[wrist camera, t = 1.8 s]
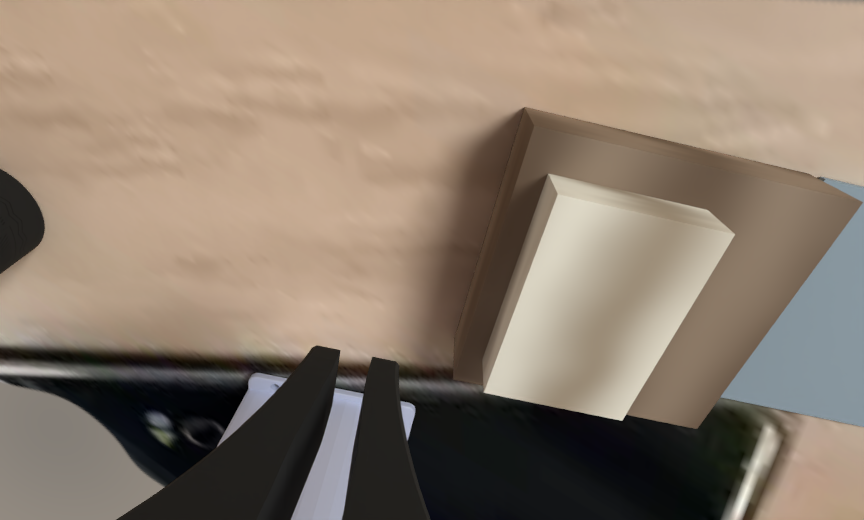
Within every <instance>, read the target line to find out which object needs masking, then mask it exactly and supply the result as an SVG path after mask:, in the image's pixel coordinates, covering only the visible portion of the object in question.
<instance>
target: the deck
mask: <svg viewBox="0 0 864 520" xmlns="http://www.w3.org/2000/svg"><path fill="white" fill-rule="evenodd" d="M548 174H553V175H557V176H561V177H566V178H570V179H575V180H579V181H583V182H588V183H592V184H596V185H601V186H605V187H610V188H614V189H618V190H623V191H627V192H631V193H636V194H640V195H645V196H649V197H653V198H658V199H662V200H667V201H671V202H675V203H680V204H684V205H688V206H693V207H697V208H702V209H706V210H708V211H709V212H711V213H712V214H713V215H714V216H715V217H716V218H717V219H718V220H720V221H721V222H722V223H723V224H724V225H725V226H726V227H727V228H729V229H730V230H731V231H732V232H733V233H734V234H735V236H734V237H733V239H732V241H731V242H730V244H729V246H728V247H727V249H726V251H725V252H724V254H723V256H722V257H721V259H720V260H719V262H718V264H717V265H716V267H715V269H714V270H713V272H712V274H711V275H710V277H709V279H708V280H707V282H706V284H705V285H704V287H703V288H702V290H701V292H700V293H699V295H698V297H697V298H696V300H695V302H694V303H693V305H692V307H691V308H690V310H689V312H688V313H687V315H686V316H685V318H684V320H683V321H682V323H681V325H680V326H679V328H678V330H677V331H676V333H675V335H674V336H673V338H672V339H671V341H670V343H669V344H668V346H667V348H666V349H665V351H664V353H663V354H662V356H661V358H660V359H659V361H658V363H657V364H656V366H655V367H654V369H653V371H652V372H651V374H650V376H649V377H648V379H647V381H646V382H645V384H644V386H643V387H642V389H641V391H640V392H639V394H638V395H637V397H636V399H635V400H634V402H633V404H632V405H631V407H630V409H629V410H628V412H627V414H626V415H631V416H636V417H641V418H646V419H651V420H656V421H660V422H665V423H670V424H675V425H680V426H685V427H690V428H695V429H697V428H698V427H699V425H700V424H701V423H702V421H703V420H704V419H705V417H706V416H707V414H708V413H709V412H710V410H711V409H712V408H713V406H714V405H715V404H716V402H717V401H718V399H719V398H720V397H721V395H722V394H723V393H724V391H725V390H726V389H727V387H728V386H729V385H730V383H731V382H732V380H733V379H734V378H735V376H736V375H737V374H738V372H739V371H740V370H741V368H742V367H743V365H744V364H745V363H746V361H747V360H748V359H749V357H750V356H751V355H752V353H753V352H754V350H755V349H756V348H757V346H758V345H759V344H760V342H761V341H762V340H763V338H764V337H765V335H766V334H767V333H768V331H769V330H770V329H771V327H772V326H773V325H774V323H775V322H776V321H777V319H778V318H779V316H780V315H781V314H782V312H783V311H784V310H785V308H786V307H787V306H788V304H789V303H790V301H791V300H792V299H793V297H794V296H795V295H796V293H797V292H798V291H799V289H800V288H801V286H802V285H803V284H804V282H805V281H806V280H807V278H808V277H809V276H810V274H811V273H812V271H813V270H814V269H815V267H816V266H817V265H818V263H819V262H820V261H821V259H822V258H823V257H824V255H825V254H826V252H827V251H828V250H829V248H830V247H831V246H832V244H833V243H834V242H835V240H836V239H837V237H838V236H839V235H840V233H841V232H842V231H843V229H844V228H845V227H846V225H847V224H848V222H849V221H850V220H851V218H852V217H853V216H854V214H855V213H856V212H857V210H858V209H859V207H860V206H861V205H862V203H863V202H862V201H860V200H858V199H856V198H854V197H852V196H850V195H848V194H846V193H844V192H842V191H841V190H839V189H837V188H835V187H833V186H831V185H829V184H827V183H825V182H823V181H821V180H820V179H818V178H816V177H814V176H812V175H810V174H807V173H803V172H799V171H794V170H790V169H786V168H781V167H777V166H773V165H769V164H764V163H760V162H756V161H752V160H747V159H743V158H739V157H735V156H730V155H726V154H722V153H718V152H713V151H709V150H705V149H701V148H696V147H692V146H688V145H684V144H679V143H675V142H671V141H667V140H662V139H658V138H654V137H650V136H645V135H641V134H637V133H633V132H628V131H624V130H620V129H616V128H611V127H607V126H603V125H599V124H594V123H590V122H586V121H582V120H577V119H573V118H569V117H565V116H560V115H556V114H552V113H548V112H543V111H539V110H535V109H531V108H526V107H525V108H524V111H523V114H522V117H521V121H520V124H519V127H518V131H517V134H516V137H515V141H514V144H513V147H512V150H511V154H510V157H509V160H508V164H507V167H506V170H505V173H504V177H503V180H502V183H501V187H500V190H499V193H498V196H497V200H496V203H495V206H494V210H493V213H492V216H491V219H490V223H489V226H488V229H487V233H486V236H485V239H484V242H483V246H482V249H481V252H480V256H479V259H478V262H477V265H476V269H475V272H474V275H473V279H472V282H471V285H470V289H469V292H468V295H467V298H466V302H465V305H464V308H463V312H462V315H461V318H460V321H459V325H458V328H457V331H456V335H455V338H454V366H453V379H454V380H459V381H463V382H468V383H473V384H478V385H483V365H482V359H483V356H484V354H485V351H486V348H487V345H488V342H489V340H490V337H491V334H492V331H493V328H494V325H495V323H496V320H497V317H498V314H499V311H500V308H501V306H502V303H503V300H504V297H505V294H506V291H507V289H508V286H509V283H510V280H511V277H512V274H513V272H514V269H515V266H516V263H517V260H518V258H519V255H520V252H521V249H522V246H523V243H524V241H525V238H526V235H527V232H528V229H529V226H530V224H531V221H532V218H533V215H534V212H535V209H536V207H537V204H538V201H539V198H540V195H541V192H542V190H543V187H544V184H545V181H546V178H547V175H548Z"/></svg>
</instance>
